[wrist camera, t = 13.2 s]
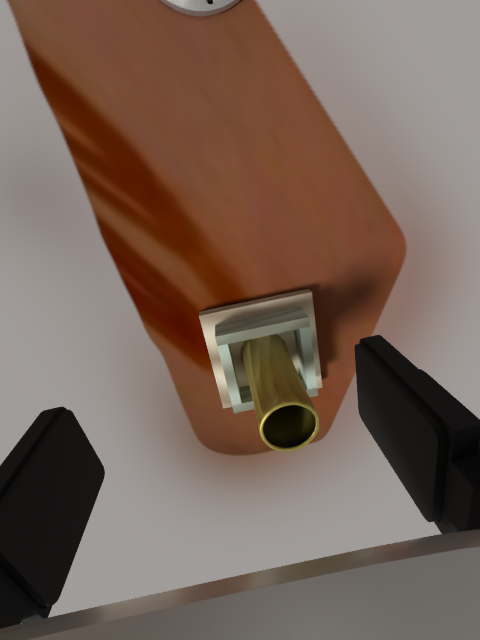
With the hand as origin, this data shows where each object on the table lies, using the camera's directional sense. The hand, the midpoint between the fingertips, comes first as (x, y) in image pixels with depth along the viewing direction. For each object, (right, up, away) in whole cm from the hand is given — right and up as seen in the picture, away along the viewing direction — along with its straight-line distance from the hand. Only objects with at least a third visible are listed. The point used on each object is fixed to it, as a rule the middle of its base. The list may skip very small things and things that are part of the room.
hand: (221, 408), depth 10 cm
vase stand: (+4, -1, +31) cm, 31 cm away
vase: (+4, -1, +29) cm, 30 cm away
